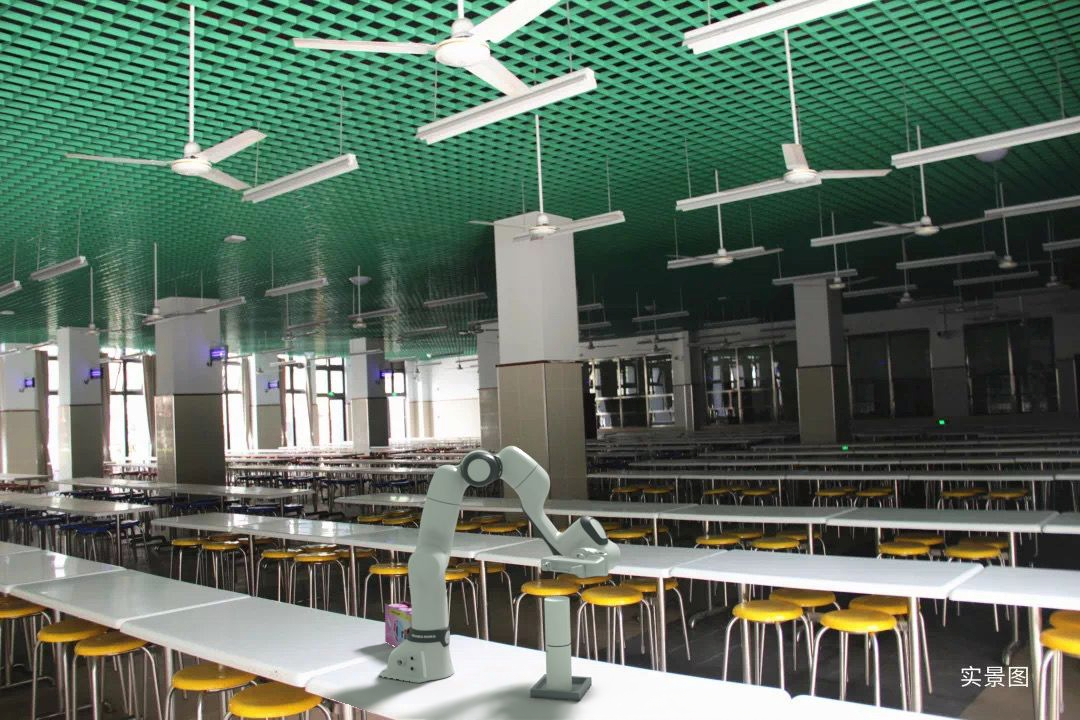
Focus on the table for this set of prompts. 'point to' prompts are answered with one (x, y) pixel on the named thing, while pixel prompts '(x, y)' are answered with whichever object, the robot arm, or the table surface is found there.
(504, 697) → the table surface
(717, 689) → the table surface
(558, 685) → the cylindrical container
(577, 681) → the tray
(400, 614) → the pink product box
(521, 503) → the robot arm
